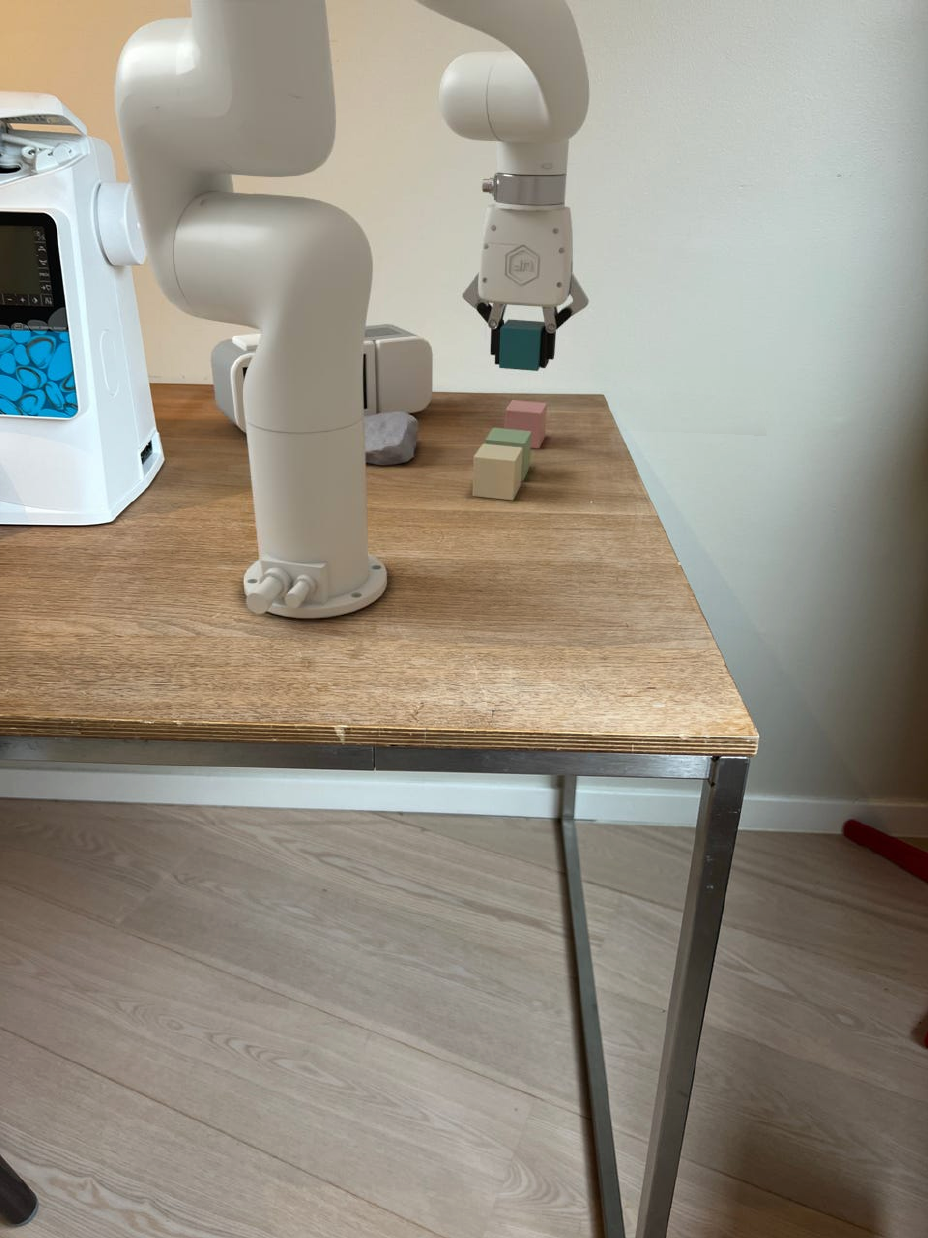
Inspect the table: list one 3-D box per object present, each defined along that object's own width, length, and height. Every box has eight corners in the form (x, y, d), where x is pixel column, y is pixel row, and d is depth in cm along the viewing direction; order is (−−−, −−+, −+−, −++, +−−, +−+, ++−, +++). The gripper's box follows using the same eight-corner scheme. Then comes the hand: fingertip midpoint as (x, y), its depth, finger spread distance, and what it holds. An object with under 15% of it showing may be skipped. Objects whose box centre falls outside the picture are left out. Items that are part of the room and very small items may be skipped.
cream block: (513, 500, 99) (515, 460, 97) (472, 496, 100) (473, 456, 98) (520, 485, 103) (522, 447, 101) (481, 481, 104) (482, 443, 102)
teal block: (538, 371, 104) (540, 330, 101) (498, 368, 104) (500, 327, 102) (544, 361, 107) (546, 321, 105) (506, 358, 108) (508, 319, 106)
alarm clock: (240, 447, 112) (229, 350, 106) (218, 426, 119) (207, 334, 113) (433, 418, 124) (433, 329, 119) (402, 400, 131) (401, 316, 125)
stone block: (410, 480, 108) (421, 438, 116) (407, 445, 105) (419, 404, 113) (313, 477, 110) (331, 436, 117) (307, 443, 106) (325, 402, 114)
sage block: (522, 481, 104) (524, 443, 102) (483, 477, 105) (485, 439, 103) (529, 468, 108) (531, 431, 106) (491, 464, 109) (493, 427, 107)
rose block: (539, 448, 114) (541, 413, 112) (503, 445, 115) (505, 409, 113) (544, 437, 118) (547, 402, 116) (510, 434, 119) (512, 399, 117)
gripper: (445, 192, 95) (444, 365, 104) (606, 198, 92) (590, 377, 101) (461, 186, 102) (459, 350, 111) (612, 192, 98) (597, 361, 107)
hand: (522, 361), depth 106 cm, fingers closed on teal block, 4 cm apart
